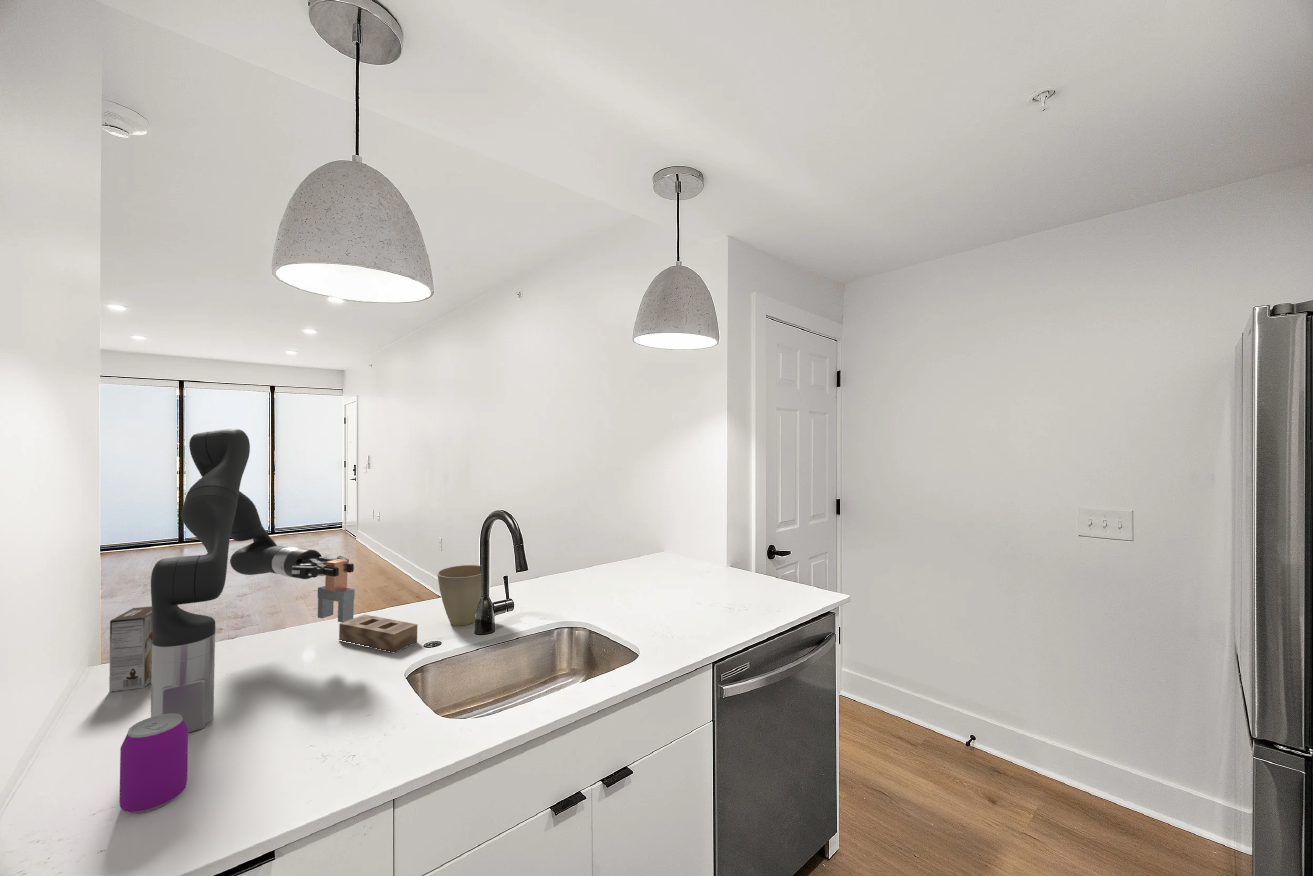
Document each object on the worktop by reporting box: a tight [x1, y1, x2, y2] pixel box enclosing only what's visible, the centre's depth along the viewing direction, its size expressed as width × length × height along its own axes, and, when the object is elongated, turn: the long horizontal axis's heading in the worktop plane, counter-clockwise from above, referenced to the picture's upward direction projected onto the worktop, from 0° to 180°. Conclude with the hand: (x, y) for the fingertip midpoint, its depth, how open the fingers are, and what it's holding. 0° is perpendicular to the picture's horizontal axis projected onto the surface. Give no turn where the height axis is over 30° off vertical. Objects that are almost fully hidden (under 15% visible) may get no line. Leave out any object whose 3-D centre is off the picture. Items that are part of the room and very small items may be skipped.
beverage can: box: [118, 713, 189, 815], centre depth 81 cm, size 8×8×12 cm
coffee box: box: [108, 605, 152, 693], centre depth 119 cm, size 9×6×16 cm
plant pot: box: [436, 564, 481, 627], centre depth 161 cm, size 15×15×16 cm
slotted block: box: [338, 614, 418, 653], centre depth 144 cm, size 20×8×5 cm, turn 70°
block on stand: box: [317, 558, 356, 623], centre depth 131 cm, size 9×4×14 cm, turn 70°
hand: (344, 570), depth 130 cm, fingers closed on block on stand, 3 cm apart
